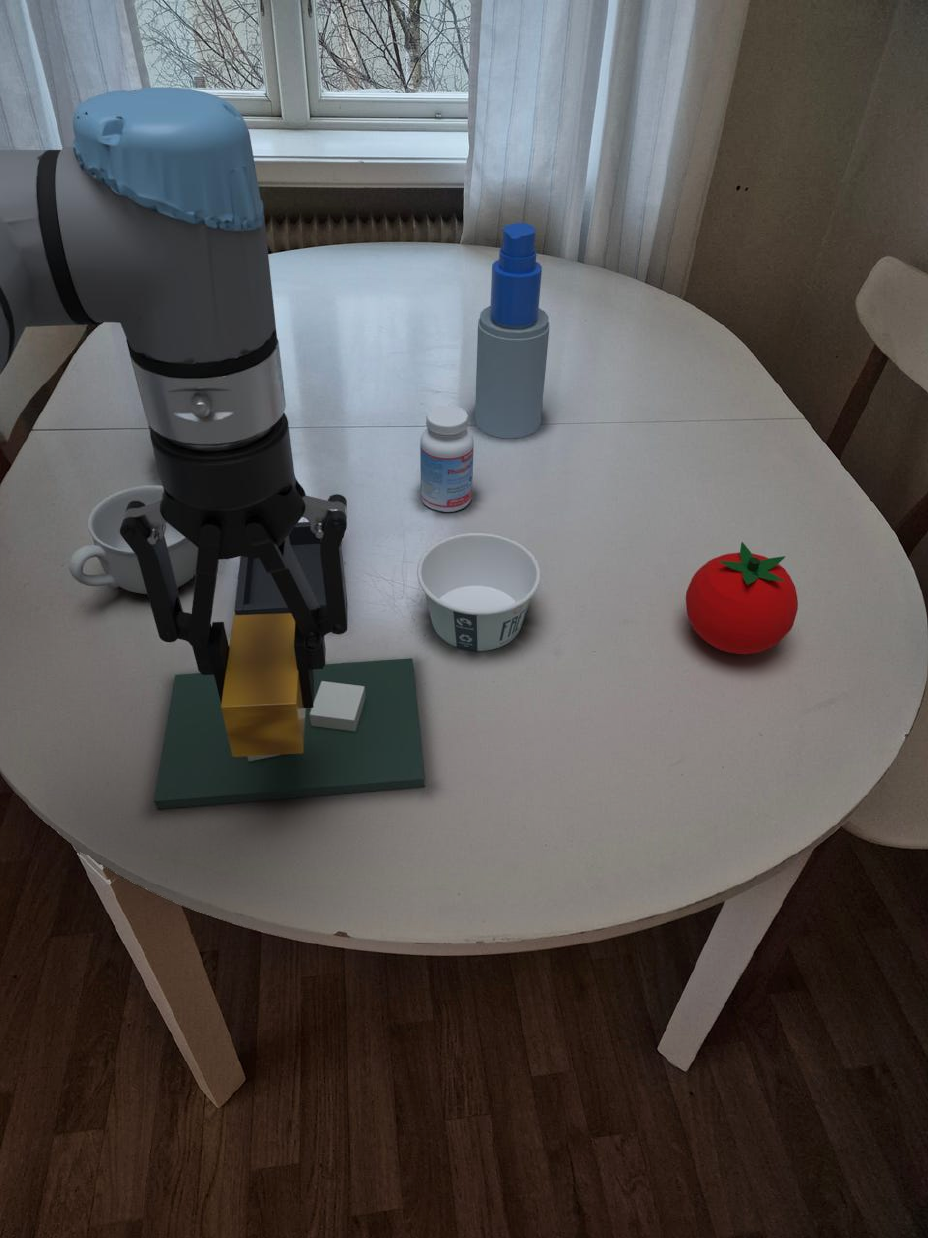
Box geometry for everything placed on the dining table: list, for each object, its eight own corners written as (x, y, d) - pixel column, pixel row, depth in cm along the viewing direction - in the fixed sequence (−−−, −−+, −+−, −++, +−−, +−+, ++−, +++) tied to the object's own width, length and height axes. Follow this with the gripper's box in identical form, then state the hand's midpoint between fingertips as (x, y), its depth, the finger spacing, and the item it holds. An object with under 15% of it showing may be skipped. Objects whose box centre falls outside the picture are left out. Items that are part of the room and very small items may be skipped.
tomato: (658, 614, 89) (677, 537, 82) (745, 593, 91) (770, 517, 85) (711, 686, 82) (736, 608, 75) (804, 661, 84) (836, 584, 77)
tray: (239, 633, 86) (234, 610, 83) (248, 547, 95) (243, 524, 93) (336, 626, 86) (334, 604, 84) (335, 542, 96) (333, 520, 94)
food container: (440, 570, 93) (440, 521, 89) (547, 594, 91) (553, 546, 86) (400, 645, 85) (398, 595, 80) (518, 674, 82) (523, 624, 78)
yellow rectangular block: (232, 757, 61) (220, 707, 57) (243, 665, 68) (233, 614, 64) (303, 754, 62) (296, 703, 58) (307, 662, 68) (301, 612, 64)
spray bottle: (494, 397, 120) (504, 209, 103) (552, 415, 117) (571, 224, 100) (462, 426, 115) (466, 232, 97) (521, 445, 111) (536, 248, 94)
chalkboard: (157, 809, 71) (153, 801, 70) (178, 683, 81) (175, 674, 80) (424, 787, 73) (424, 778, 72) (412, 666, 83) (412, 658, 82)
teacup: (184, 531, 97) (168, 471, 92) (231, 580, 91) (217, 520, 86) (62, 581, 91) (37, 520, 85) (104, 638, 85) (80, 577, 79)
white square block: (311, 726, 76) (309, 714, 75) (323, 692, 79) (321, 680, 77) (355, 731, 75) (354, 720, 74) (365, 697, 78) (364, 686, 77)
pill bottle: (456, 519, 100) (457, 435, 92) (411, 503, 102) (409, 419, 94) (480, 493, 104) (484, 410, 96) (437, 478, 106) (437, 396, 98)
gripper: (30, 459, 44) (135, 743, 60) (383, 450, 46) (393, 729, 62) (65, 387, 49) (152, 665, 66) (380, 381, 51) (390, 654, 67)
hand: (269, 695), depth 64 cm, fingers closed on yellow rectangular block, 5 cm apart
